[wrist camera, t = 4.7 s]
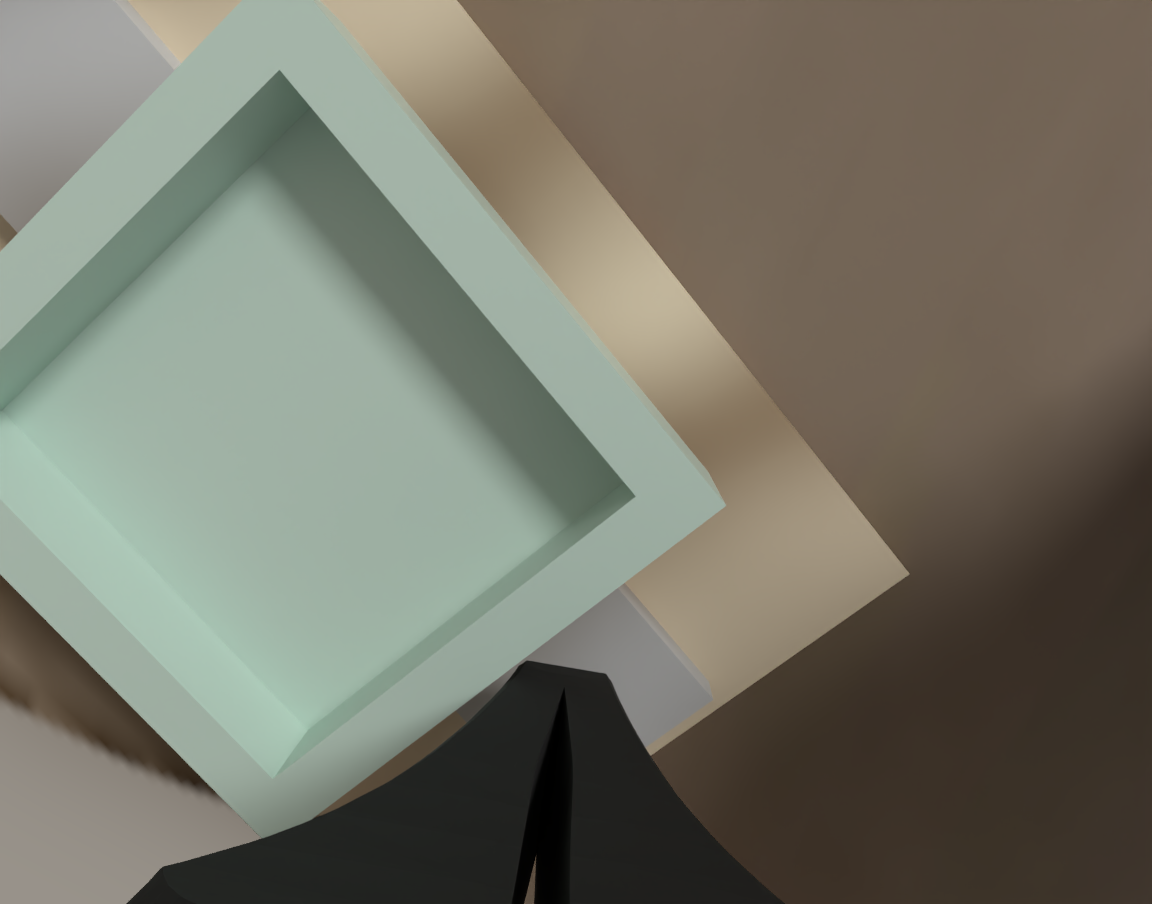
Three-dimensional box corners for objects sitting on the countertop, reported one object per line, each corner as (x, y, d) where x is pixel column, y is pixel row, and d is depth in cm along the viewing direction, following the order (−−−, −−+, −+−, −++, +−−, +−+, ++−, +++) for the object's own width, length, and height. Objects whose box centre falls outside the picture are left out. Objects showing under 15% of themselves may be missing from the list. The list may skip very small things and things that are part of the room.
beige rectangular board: (900, 565, 13) (1002, 661, 9) (424, 901, 14) (366, 1081, 11) (-9, -585, 10) (-317, -1024, 7) (-445, 0, 12) (-857, -116, 9)
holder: (707, 471, 11) (725, 505, 9) (323, 767, 12) (272, 849, 11) (341, 22, 10) (280, -41, 8) (-33, 396, 12) (-157, 415, 10)
